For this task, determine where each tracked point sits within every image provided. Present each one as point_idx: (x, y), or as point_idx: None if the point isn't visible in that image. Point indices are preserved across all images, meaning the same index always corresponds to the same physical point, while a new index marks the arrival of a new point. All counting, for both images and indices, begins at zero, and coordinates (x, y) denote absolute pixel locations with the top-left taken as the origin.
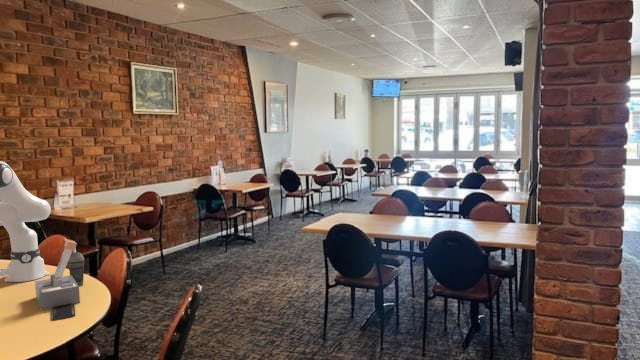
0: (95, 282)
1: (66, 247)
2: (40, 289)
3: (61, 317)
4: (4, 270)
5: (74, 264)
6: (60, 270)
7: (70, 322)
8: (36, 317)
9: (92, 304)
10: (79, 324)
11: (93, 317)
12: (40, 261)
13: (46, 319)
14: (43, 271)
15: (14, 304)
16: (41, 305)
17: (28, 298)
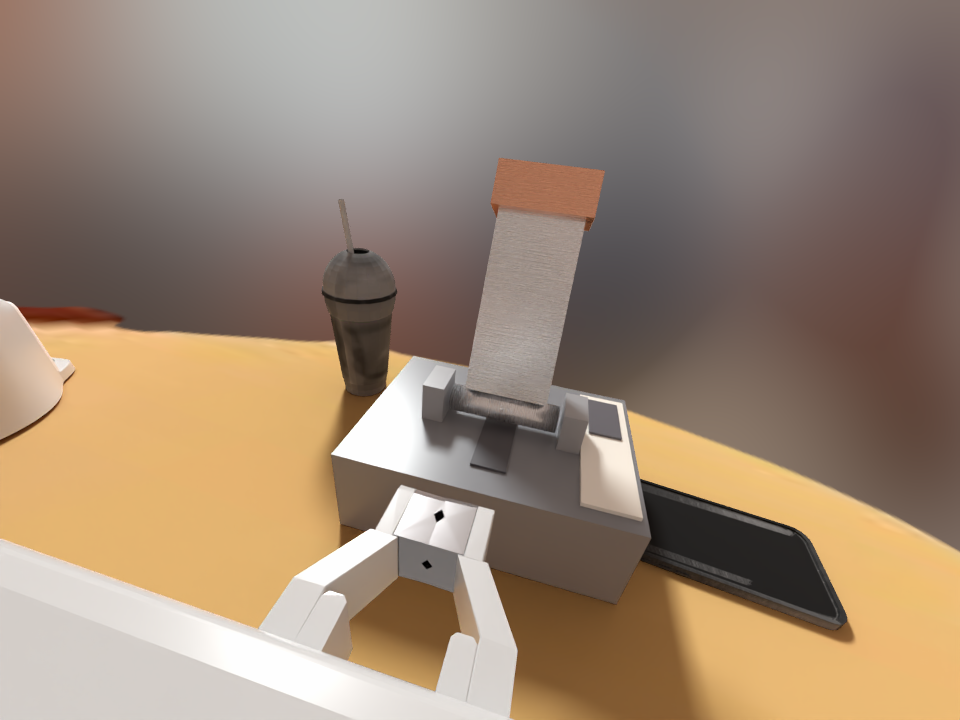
0: (396, 356)
1: (588, 209)
2: (551, 500)
3: (831, 584)
4: (474, 580)
5: (385, 306)
6: (557, 352)
7: (894, 583)
8: (743, 676)
9: (654, 446)
10: (933, 569)
11: (834, 502)
12: (9, 317)
13: (808, 647)
14: (50, 363)
15: None
16: (625, 581)
17: (306, 556)
